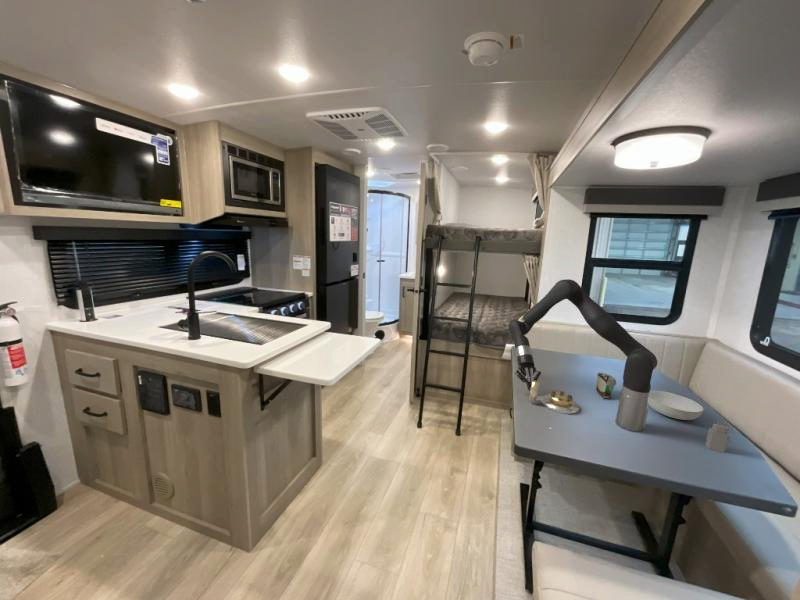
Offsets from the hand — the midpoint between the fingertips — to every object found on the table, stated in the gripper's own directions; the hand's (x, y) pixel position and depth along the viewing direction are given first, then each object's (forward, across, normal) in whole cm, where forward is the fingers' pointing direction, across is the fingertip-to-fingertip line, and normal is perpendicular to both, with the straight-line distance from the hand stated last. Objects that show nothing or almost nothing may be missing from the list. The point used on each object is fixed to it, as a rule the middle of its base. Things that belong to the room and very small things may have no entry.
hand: (531, 390), depth 154 cm
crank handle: (+4, +8, 0) cm, 9 cm away
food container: (-2, +44, +10) cm, 45 cm away
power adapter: (+27, +59, -20) cm, 68 cm away
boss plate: (+6, +13, +2) cm, 14 cm away
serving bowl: (+9, +64, -2) cm, 65 cm away
